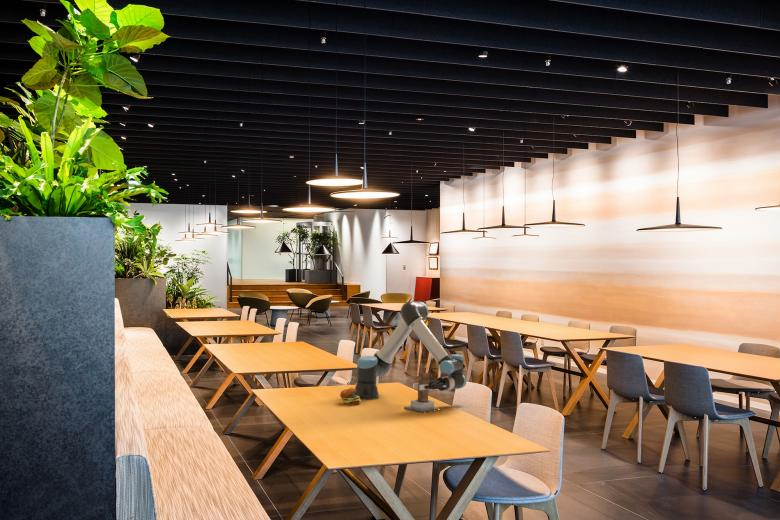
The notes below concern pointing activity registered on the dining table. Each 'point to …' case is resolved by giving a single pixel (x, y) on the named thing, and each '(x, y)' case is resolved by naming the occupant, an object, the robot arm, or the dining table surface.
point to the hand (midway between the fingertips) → (416, 386)
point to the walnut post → (423, 393)
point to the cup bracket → (421, 406)
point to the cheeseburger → (350, 397)
